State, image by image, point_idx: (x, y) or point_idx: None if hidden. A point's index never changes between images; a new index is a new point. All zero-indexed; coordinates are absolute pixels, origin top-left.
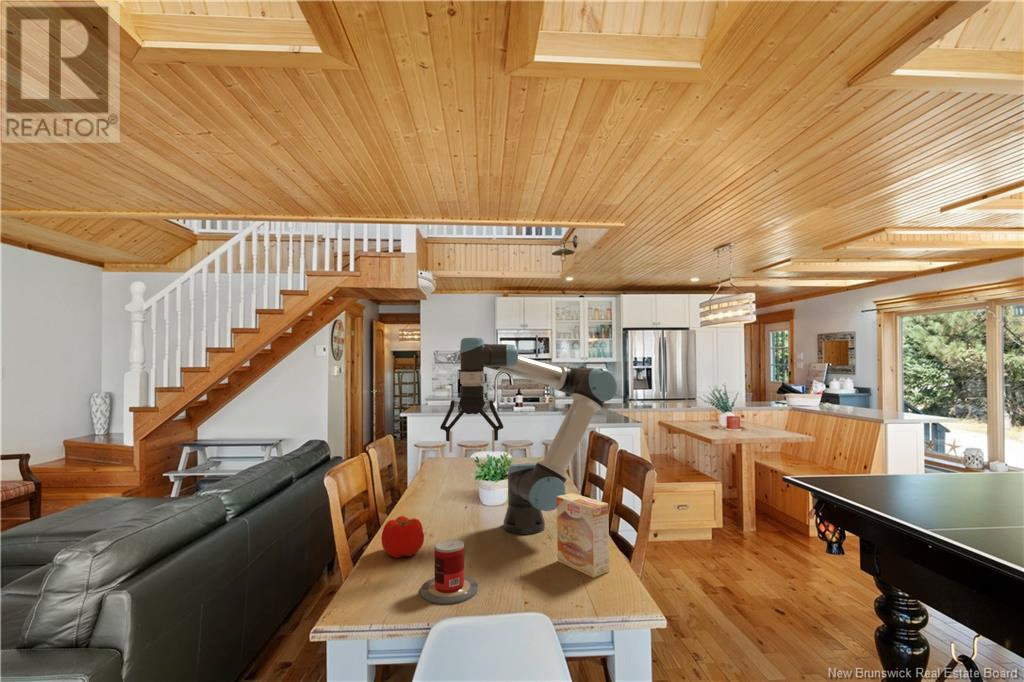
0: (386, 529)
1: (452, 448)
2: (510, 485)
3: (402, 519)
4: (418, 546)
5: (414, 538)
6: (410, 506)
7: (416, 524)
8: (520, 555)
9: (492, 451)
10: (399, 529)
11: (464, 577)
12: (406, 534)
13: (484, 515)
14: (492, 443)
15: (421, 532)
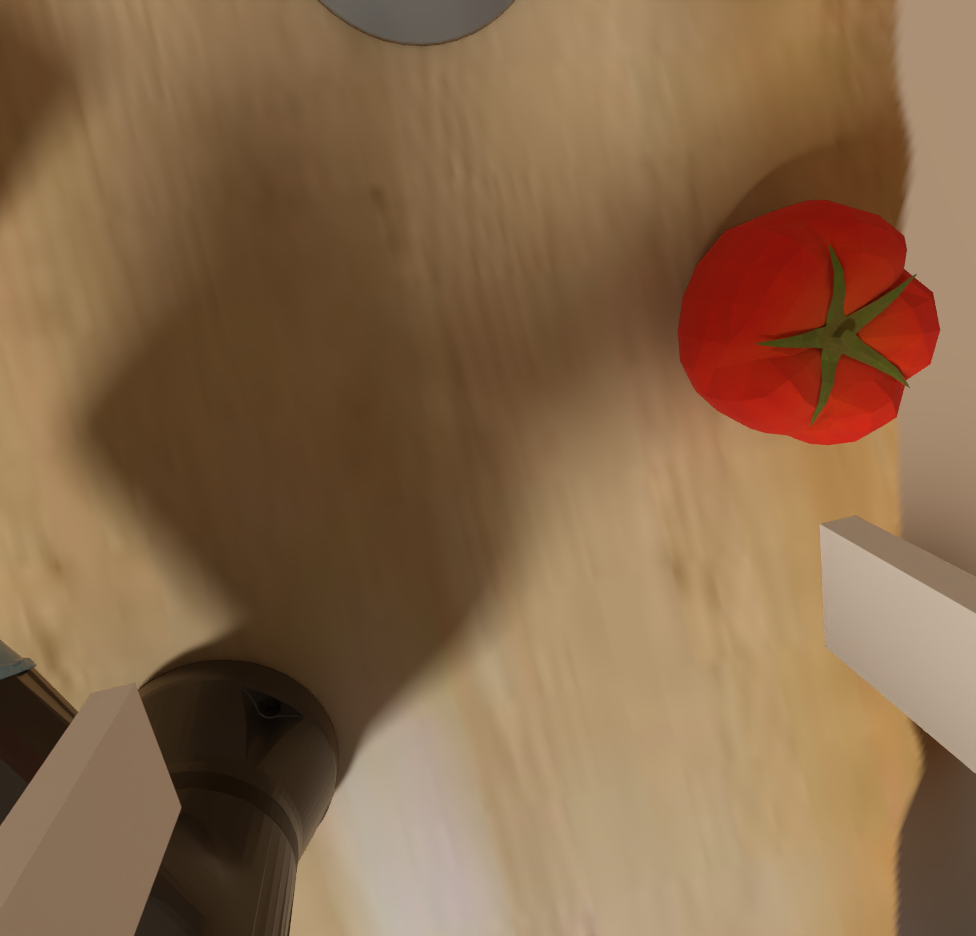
0: (913, 280)
1: (848, 665)
2: (244, 903)
3: (863, 384)
4: (690, 286)
5: (729, 255)
6: (862, 905)
7: (764, 354)
8: (150, 381)
9: (126, 686)
10: (842, 223)
11: (364, 9)
12: (784, 226)
13: (476, 873)
14: (65, 791)
15: (710, 322)
